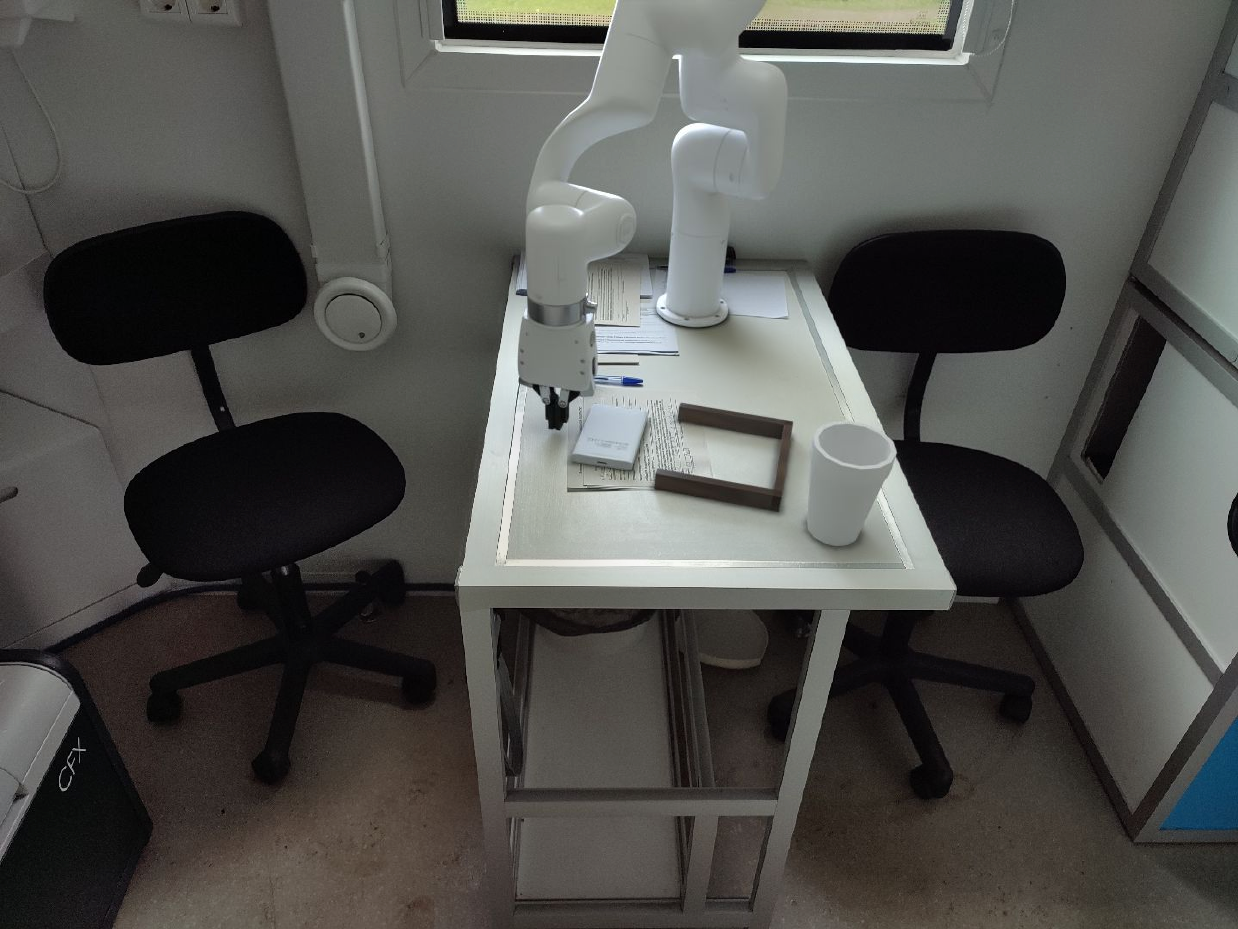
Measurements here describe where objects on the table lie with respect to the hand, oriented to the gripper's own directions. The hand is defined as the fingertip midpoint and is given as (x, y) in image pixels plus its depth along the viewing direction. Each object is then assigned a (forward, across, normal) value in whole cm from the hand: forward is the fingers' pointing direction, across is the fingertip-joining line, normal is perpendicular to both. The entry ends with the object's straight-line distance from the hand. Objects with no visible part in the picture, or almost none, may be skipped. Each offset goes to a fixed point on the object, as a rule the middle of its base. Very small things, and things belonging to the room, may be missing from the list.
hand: (557, 424), depth 120 cm
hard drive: (+1, -8, 0) cm, 8 cm away
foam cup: (+1, -39, +10) cm, 40 cm away
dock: (+1, -23, 0) cm, 23 cm away
